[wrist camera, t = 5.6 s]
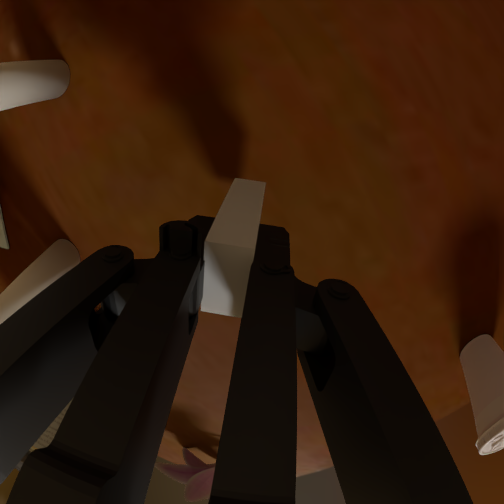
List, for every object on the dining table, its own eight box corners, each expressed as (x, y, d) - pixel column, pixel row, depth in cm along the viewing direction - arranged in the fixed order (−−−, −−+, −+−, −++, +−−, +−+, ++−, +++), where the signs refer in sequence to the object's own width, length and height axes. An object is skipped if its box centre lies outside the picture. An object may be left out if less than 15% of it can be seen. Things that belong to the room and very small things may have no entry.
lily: (155, 415, 32) (135, 482, 28) (227, 442, 25) (202, 525, 20) (220, 432, 40) (203, 488, 35) (289, 450, 33) (270, 516, 28)
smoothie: (504, 349, 22) (554, 463, 10) (452, 380, 24) (488, 502, 12) (501, 310, 20) (571, 443, 7) (441, 347, 22) (490, 495, 10)
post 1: (71, 56, 13) (-48, 66, 6) (69, 97, 15) (-48, 128, 7) (42, 62, 13) (-71, 79, 6) (39, 100, 15) (-71, 133, 7)
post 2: (77, 241, 20) (-1, 323, 12) (82, 271, 21) (16, 356, 13) (50, 236, 20) (-27, 310, 12) (56, 265, 21) (-11, 342, 13)
